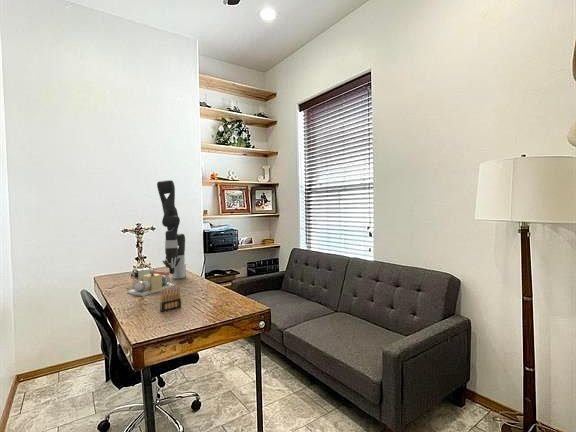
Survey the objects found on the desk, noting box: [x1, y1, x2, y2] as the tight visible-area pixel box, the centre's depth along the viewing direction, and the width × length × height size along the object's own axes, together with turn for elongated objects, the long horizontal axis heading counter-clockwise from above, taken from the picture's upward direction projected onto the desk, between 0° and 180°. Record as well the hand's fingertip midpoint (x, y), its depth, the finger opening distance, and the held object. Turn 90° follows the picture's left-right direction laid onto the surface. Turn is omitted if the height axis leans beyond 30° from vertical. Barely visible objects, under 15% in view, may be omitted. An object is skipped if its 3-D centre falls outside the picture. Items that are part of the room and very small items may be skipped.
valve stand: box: [126, 273, 177, 297], centre depth 207 cm, size 26×14×11 cm, turn 152°
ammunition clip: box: [159, 285, 182, 313], centre depth 167 cm, size 11×2×12 cm, turn 135°
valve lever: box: [150, 269, 170, 276], centre depth 204 cm, size 16×3×2 cm, turn 62°
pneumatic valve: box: [132, 266, 153, 282], centre depth 220 cm, size 6×12×12 cm, turn 131°
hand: (171, 273), depth 205 cm, fingers closed
